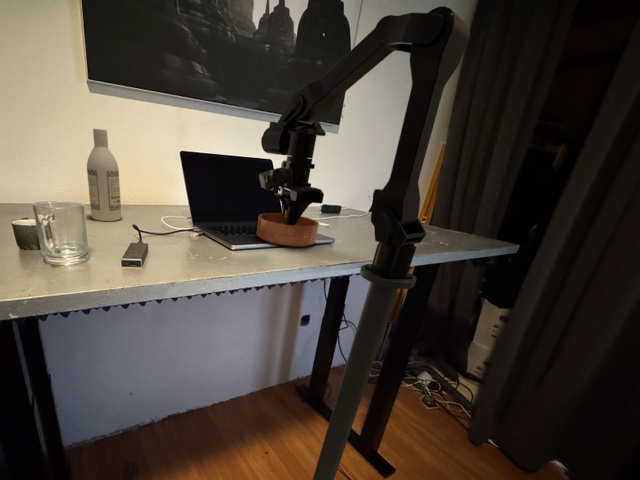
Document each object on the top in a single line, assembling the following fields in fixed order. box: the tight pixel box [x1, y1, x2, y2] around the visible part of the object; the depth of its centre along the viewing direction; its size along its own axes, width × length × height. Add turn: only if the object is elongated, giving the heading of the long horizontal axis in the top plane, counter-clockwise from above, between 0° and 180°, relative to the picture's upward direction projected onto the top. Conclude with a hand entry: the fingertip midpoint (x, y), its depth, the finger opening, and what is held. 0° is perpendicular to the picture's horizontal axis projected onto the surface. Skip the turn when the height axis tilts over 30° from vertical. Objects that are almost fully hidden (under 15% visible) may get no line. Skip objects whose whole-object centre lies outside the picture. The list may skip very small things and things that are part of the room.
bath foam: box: [86, 128, 122, 222], centre depth 77 cm, size 7×7×20 cm
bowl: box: [255, 212, 320, 248], centre depth 79 cm, size 15×15×5 cm
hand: (288, 226), depth 79 cm, fingers closed on scrub brush, 2 cm apart
